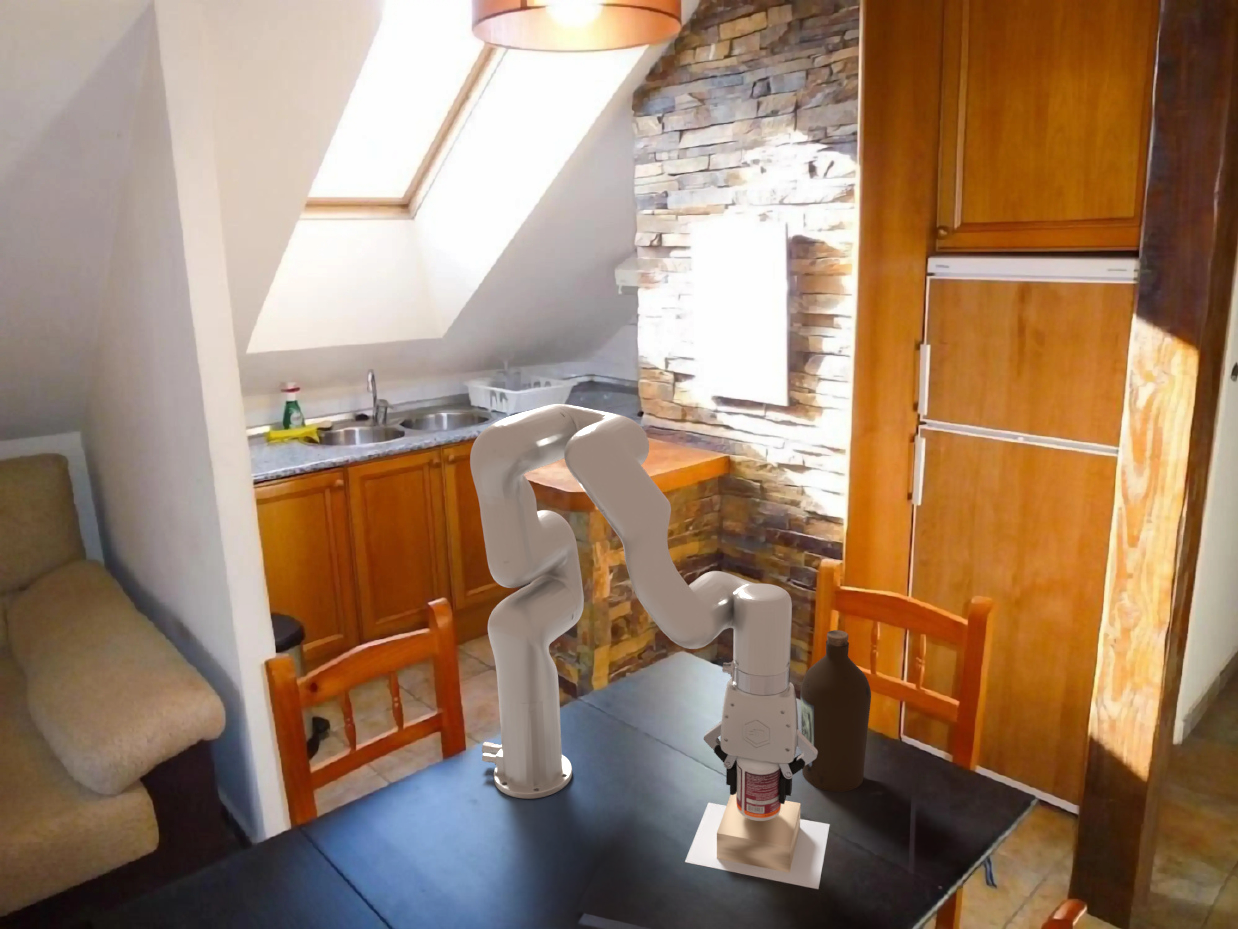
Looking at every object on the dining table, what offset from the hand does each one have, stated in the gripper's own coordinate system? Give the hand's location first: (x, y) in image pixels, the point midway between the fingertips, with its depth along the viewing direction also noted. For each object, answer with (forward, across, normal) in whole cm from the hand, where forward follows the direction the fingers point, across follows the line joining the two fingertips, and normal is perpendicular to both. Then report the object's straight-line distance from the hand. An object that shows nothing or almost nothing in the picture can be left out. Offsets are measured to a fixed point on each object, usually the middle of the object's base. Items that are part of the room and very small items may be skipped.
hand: (758, 792), depth 125 cm
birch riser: (+8, 0, 0) cm, 8 cm away
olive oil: (+9, +8, +20) cm, 23 cm away
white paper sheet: (+9, 0, 0) cm, 9 cm away
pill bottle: (+3, 0, 0) cm, 3 cm away
